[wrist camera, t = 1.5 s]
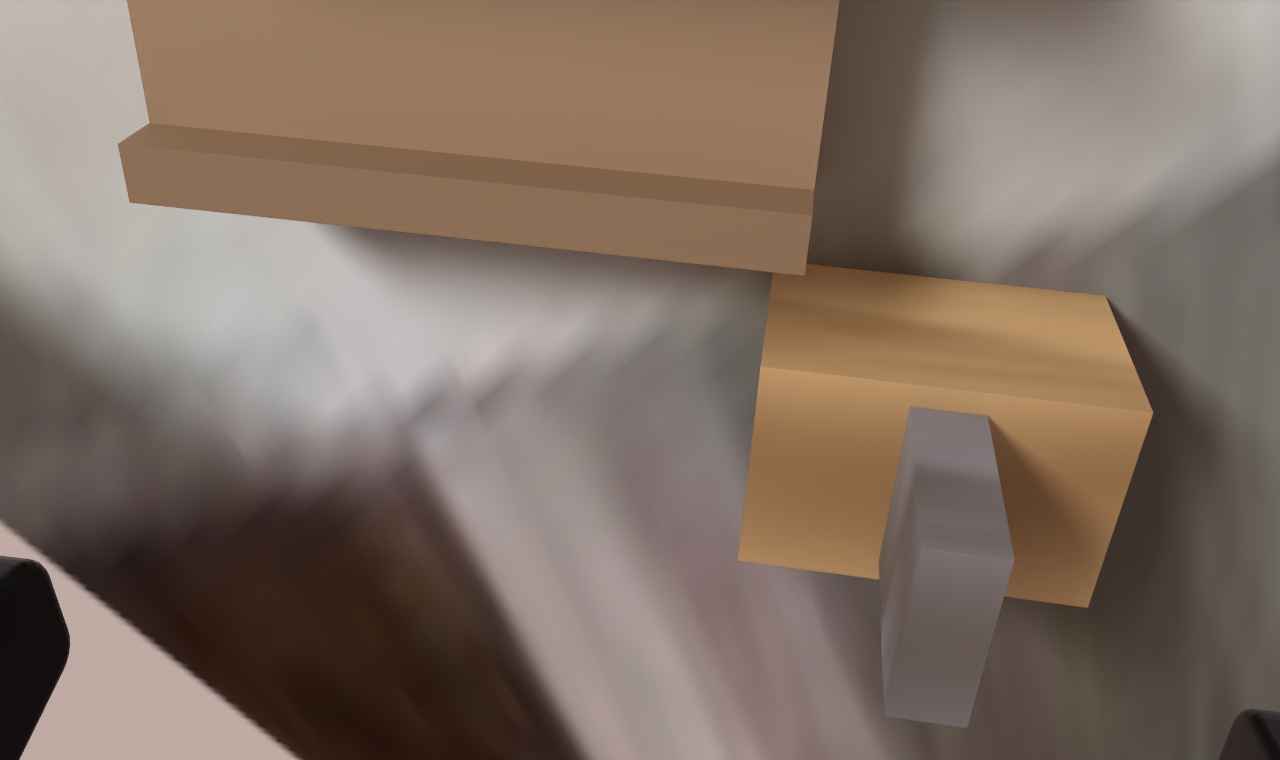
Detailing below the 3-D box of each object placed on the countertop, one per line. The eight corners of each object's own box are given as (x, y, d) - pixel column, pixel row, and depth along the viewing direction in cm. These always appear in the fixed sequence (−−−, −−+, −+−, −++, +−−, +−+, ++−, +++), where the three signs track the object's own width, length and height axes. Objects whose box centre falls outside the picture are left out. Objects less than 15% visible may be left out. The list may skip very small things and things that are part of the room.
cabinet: (1050, 479, 23) (1125, 781, 17) (752, 442, 24) (717, 719, 18) (1104, 293, 21) (1214, 561, 15) (774, 258, 22) (743, 499, 15)
